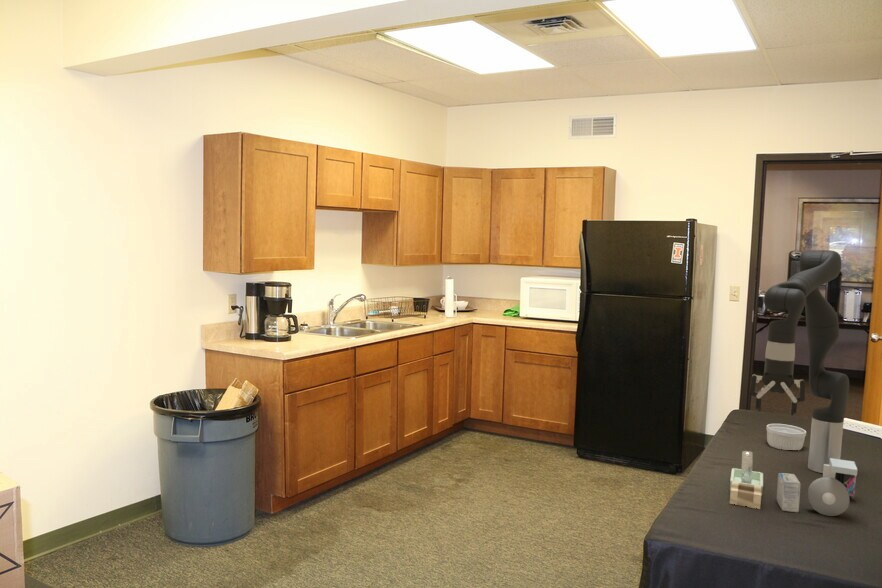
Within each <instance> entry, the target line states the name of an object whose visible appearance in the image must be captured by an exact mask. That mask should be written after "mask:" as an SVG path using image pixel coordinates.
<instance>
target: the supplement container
mask: <svg viewBox="0 0 882 588" xmlns="http://www.w3.org/2000/svg"><path fill="white" fill-rule="evenodd" d="M855 465H856V467H857V468H858V464H857V463H855ZM835 479H836V480H838V481H840V482H841V483H842V484H843V485H844V486H845V488H846V489H847V492H848V495H849V502H850V501H853V500H854V499H855V494H856V493H855V492H856V481H857V476H856V475H850V474H843V473H837V472H836V474H835Z"/></svg>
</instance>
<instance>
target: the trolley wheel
mask: <svg viewBox="0 0 882 588" xmlns="http://www.w3.org/2000/svg"><path fill="white" fill-rule="evenodd" d="M829 464H830V465H827V464H824V468H823V473H822V477H819V478H816V479H814V480H813V481H812V482H811V483H810V484H809V487H808V489H807V498H808V501H809V504H810V505H811V507H812V508H813V510H815V511H816V512H817V513H819V514H820V515H824V516H825V517H826V516H827V517H828V516H829V517H834V516H839V515H841V514H843V513H844V512H846V510H847V509H848V507H849V506H850V501H849V495H848V492H847V489H846V488H845V486H844V485H843V484H842V483H841V482H840V481H838V480H836V479H835V474H836V472H837V473H843V474H850V475H856V477H857V476H858V466H857V467H856V465H857V464H856V462H855V461H853V460H846V459H841V458H840V459H833V458H830V462H829ZM855 464H856V465H855Z"/></svg>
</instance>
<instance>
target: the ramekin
mask: <svg viewBox="0 0 882 588" xmlns="http://www.w3.org/2000/svg"><path fill="white" fill-rule="evenodd" d="M765 430H766V439H767V440H766V441H767V443H768V445H769V446H770V447H772V448H775V449H777V450H781V449H782V450H781V451H786V450H798V451H800V450H801V449H803V447H804V443H805V437H806V436H807V431H806V430H805V429H804V428H802V427H799V426H795V425H791V424H783V423H769V424H767V425H766V429H765Z"/></svg>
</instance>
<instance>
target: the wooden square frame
mask: <svg viewBox="0 0 882 588" xmlns="http://www.w3.org/2000/svg"><path fill="white" fill-rule="evenodd" d="M729 494H730V496H729V504H730V505H734V504H735V506H740V507H741V506H742V507H745V506H747V508H750V509H751V508H752V509H756V508H757V509H758V510H761V503H762V497H761V486H755V485H749V484H743V483H738V482H732V484H731V491H730V493H729ZM757 509H756V510H757Z"/></svg>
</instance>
